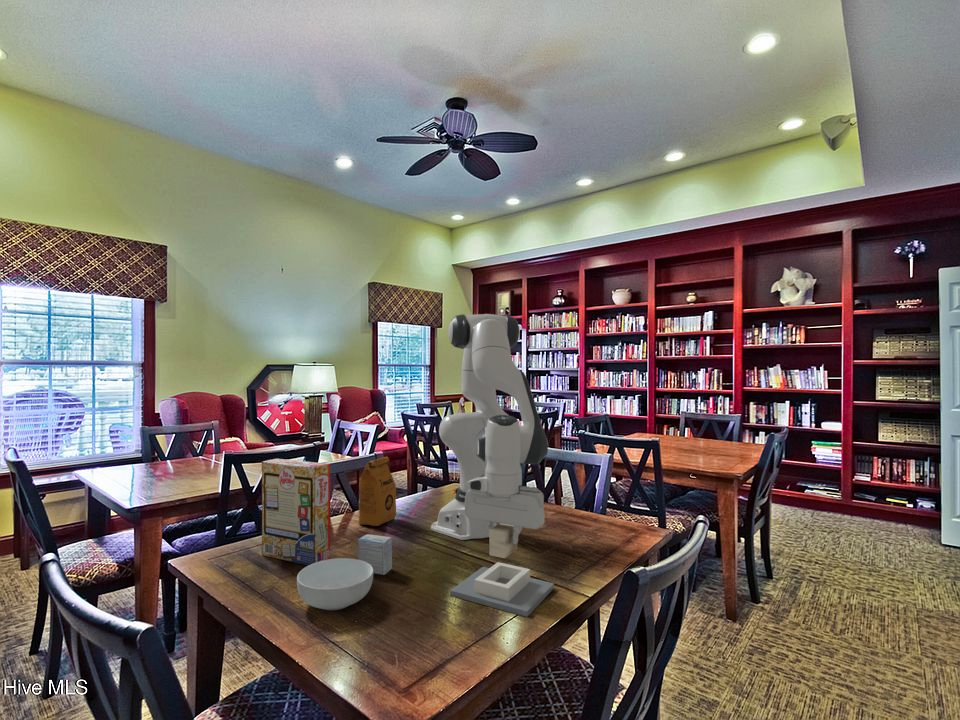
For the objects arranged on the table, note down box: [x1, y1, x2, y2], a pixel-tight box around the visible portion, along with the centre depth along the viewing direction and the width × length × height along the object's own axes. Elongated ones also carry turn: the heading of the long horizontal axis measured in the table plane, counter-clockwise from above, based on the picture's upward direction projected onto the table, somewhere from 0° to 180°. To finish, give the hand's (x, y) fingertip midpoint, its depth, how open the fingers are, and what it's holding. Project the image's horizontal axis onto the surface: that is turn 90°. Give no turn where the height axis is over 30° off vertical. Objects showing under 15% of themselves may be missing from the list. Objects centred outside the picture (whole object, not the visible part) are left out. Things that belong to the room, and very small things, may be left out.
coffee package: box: [358, 456, 397, 527], centre depth 173 cm, size 10×12×22 cm
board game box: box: [261, 458, 331, 566], centre depth 141 cm, size 20×6×27 cm, turn 65°
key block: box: [488, 523, 518, 559], centre depth 121 cm, size 7×4×6 cm, turn 150°
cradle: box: [449, 561, 555, 618], centre depth 121 cm, size 20×16×4 cm
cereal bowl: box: [296, 557, 374, 611], centre depth 116 cm, size 17×17×7 cm
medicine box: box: [357, 533, 393, 576], centre depth 133 cm, size 8×4×9 cm, turn 71°
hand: (503, 541), depth 121 cm, fingers closed on key block, 4 cm apart
